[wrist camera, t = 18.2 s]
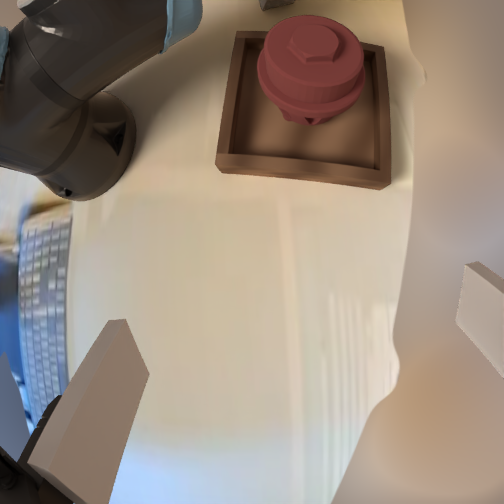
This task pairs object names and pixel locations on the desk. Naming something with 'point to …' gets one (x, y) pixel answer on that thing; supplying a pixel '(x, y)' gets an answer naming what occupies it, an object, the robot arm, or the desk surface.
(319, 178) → the walnut tray
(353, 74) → the mechanical component
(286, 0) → the mineral specimen
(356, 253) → the desk surface
